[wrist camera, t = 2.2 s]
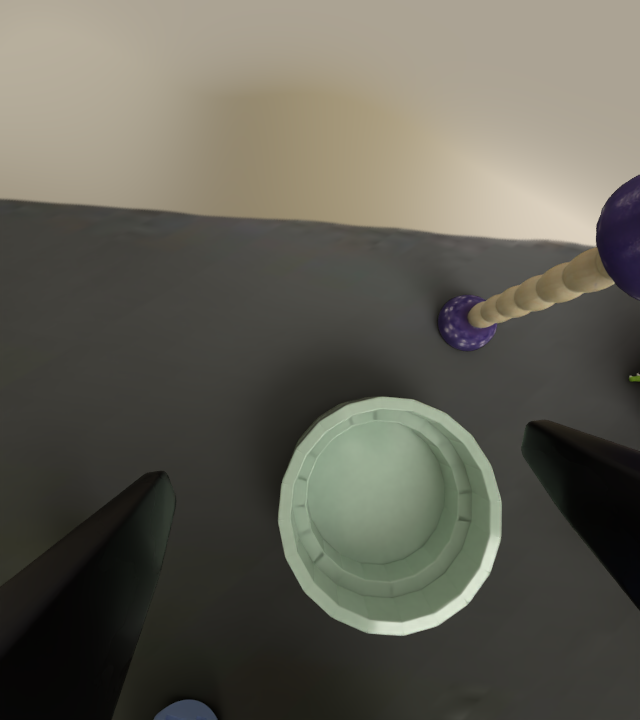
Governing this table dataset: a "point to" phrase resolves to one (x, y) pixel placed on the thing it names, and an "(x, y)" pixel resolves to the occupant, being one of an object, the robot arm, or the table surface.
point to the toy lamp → (557, 277)
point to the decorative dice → (186, 711)
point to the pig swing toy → (634, 378)
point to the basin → (389, 515)
